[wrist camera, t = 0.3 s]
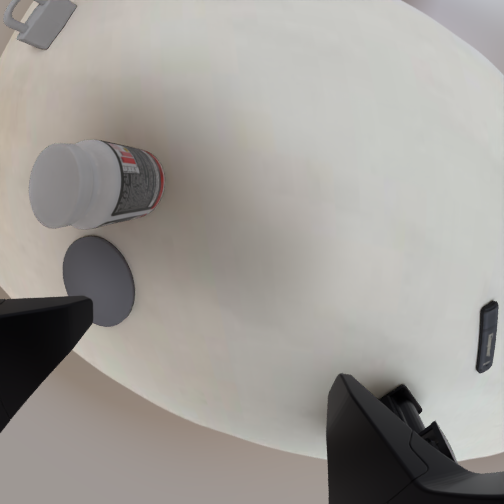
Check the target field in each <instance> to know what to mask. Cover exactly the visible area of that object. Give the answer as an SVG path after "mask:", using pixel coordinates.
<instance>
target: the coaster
mask: <svg viewBox="0 0 504 504" xmlns="http://www.w3.org/2000/svg"><path fill="white" fill-rule="evenodd" d="M63 279H64V284H65V288H66V291H67V294H68V296H81V295H83V296H86V297H88V298H91V299H92V301H93V323H94V324H96V325H99V326H104V327H110V326H115V325H117V324H119V323H120V322H122V321H123V320H124V319H125V318H126V317H127V316H128V315H129V313H130V312H131V310H132V307H133V304H134V298H135V288H134V281H133V277H132V274H131V271H130V268H129V266H128V264H127V262H126V260H125V259H124V257H123V256H122V254H121V253H120V252H119V251H118V250H117V248H116V247H114V246H113V245H112V244H111V243H109V242H108V241H106V240H104V239H103V238H100V237H95V236H88V237H84V238H80V239H78V240H76V241H75V242H74V243H73V244H71V246H70V247H69V248H68V250H67V252H66V254H65V257H64V262H63Z"/></svg>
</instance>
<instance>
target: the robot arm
mask: <svg viewBox="0 0 504 504" xmlns="http://www.w3.org/2000/svg"><path fill="white" fill-rule="evenodd" d="M92 323H93V301H92V299H91V298H88V297H86V296H83V295H81V296H64V297H45V298H23V299H7V300H6V299H0V433H1V431H2V430H3V429H4V428H5V426H6V425H7V424H8V423H9V421H10V419H12V417H13V416H14V415H15V414H16V412H17V411H18V410H19V409H20V408H21V407H22V405H23V404H24V403H25V402H26V401H27V399H28V398H29V397H30V396H31V395H32V394H33V392H34V391H35V390H36V389H37V388H38V387H39V386H40V384H41V383H42V382H43V381H44V380H45V379H46V378H47V377H48V375H49V374H50V373H51V372H52V371H53V370H54V369H55V368H56V367H57V366H58V364H59V363H60V362H61V361H62V360H63V359H64V358H65V357H66V356H67V355H68V354H69V353H70V352H71V350H72V349H73V348H74V347H75V345H76V344H77V343H78V341H79V340H80V339H81V338H82V336H83V335H84V334H85V332H86V331H87V330H88V329H89V327H90V326H91V325H92ZM421 412H422V408H421V406H420V405H419V404H418V402H417V401H416V399H415V398H414V397H413V395H412V394H411V393H410V391H409V390H408V388H407V387H406V386H405V385H401V386H399V387H398V388H396V389H395V390H394V391H392V392H391V393H389V394H388V395H386V396H385V397H383V398H382V399H380V400H378V399H377V398H376V397H375V396H374V395H373V394H371V393H370V392H369V391H368V390H367V389H366V388H365V387H364V386H363V385H361V384H360V383H359V382H358V381H357V380H356V379H355V378H354V377H353V376H352V375H349V374H343V373H340V374H339V375H338V376H337V377H336V380H335V382H334V384H333V386H332V388H331V389H330V392H329V395H328V409H327V427H326V441H327V459H328V486H329V504H504V472H496V473H485V474H479V473H473V472H470V471H468V470H466V469H464V468H463V467H461V466H460V465H458V463H457V460H456V458H455V455H454V453H453V450H452V448H451V446H450V444H449V442H448V440H447V439H446V437H445V435H444V433H443V432H442V430H441V429H440V427H439V426H438V424H437V423H436V421H434V422H432V423H431V425H430V426H428V427H427V428H425V426H424V424H423V422H422V420H421V418H420V416H419V414H420V413H421Z"/></svg>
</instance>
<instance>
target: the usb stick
mask: <svg viewBox="0 0 504 504" xmlns="http://www.w3.org/2000/svg"><path fill="white" fill-rule="evenodd" d="M497 320H498V303H497V301H496V302H495V301H492V302H490V303H489V304H488V305H486V306H484V307H483V308H482V310H481V325H480V340H479V351H478V361H477V371H478V372H479V373H483V372H485V371H487V370H488V369H489V368H490V367H491V366H492V363H493V356H494V350H495V342H496V332H497Z"/></svg>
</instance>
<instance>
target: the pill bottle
mask: <svg viewBox="0 0 504 504" xmlns="http://www.w3.org/2000/svg"><path fill="white" fill-rule="evenodd" d="M164 187H165V176H164V171H163V168H162V166H161V164H160V162H159V161H158V159H157V158H156V157H155V156H154V155H152V154H151V153H149V152H147V151H145V150H141V149H137V148H132V147H128V146H124V145H119V144H114V143H110V142H105V141H100V140H92V139H90V140H83V141H80V142H78V143H76V144H65V143H55V144H52V145H50V146H48V147H46V148H45V149H44V150H43V151H42V152H41V153H40V155H39V156H38V158H37V159H36V161H35V163H34V166H33V168H32V171H31V176H30V181H29V198H30V203H31V207H32V210H33V212H34V215H35V216H36V218H37V219H38V221H39V222H40V223H41V224H43V225H44V226H46V227H48V228H60V227H66V226H70V225H71V226H73V227H75V228H78V229H93V228H97V227H102V226H105V225H109V224H114V223H118V222H122V221H127V220H131V219H136V218H140V217H142V216H145V215H147V214H148V213H150V212H151V211H152V210H153V209H154V208H155V207H156V206H157V205H158V203H159V202H160V200H161V198H162V195H163V192H164Z"/></svg>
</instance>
